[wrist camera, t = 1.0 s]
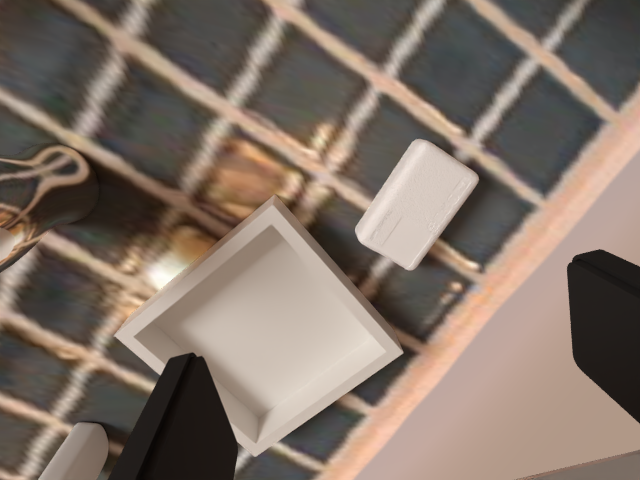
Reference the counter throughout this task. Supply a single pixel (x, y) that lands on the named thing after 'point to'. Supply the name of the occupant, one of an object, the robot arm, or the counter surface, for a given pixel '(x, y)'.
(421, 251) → the soap
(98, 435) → the eye dropper bottle
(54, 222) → the beer glass
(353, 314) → the box
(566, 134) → the counter surface
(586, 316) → the robot arm
